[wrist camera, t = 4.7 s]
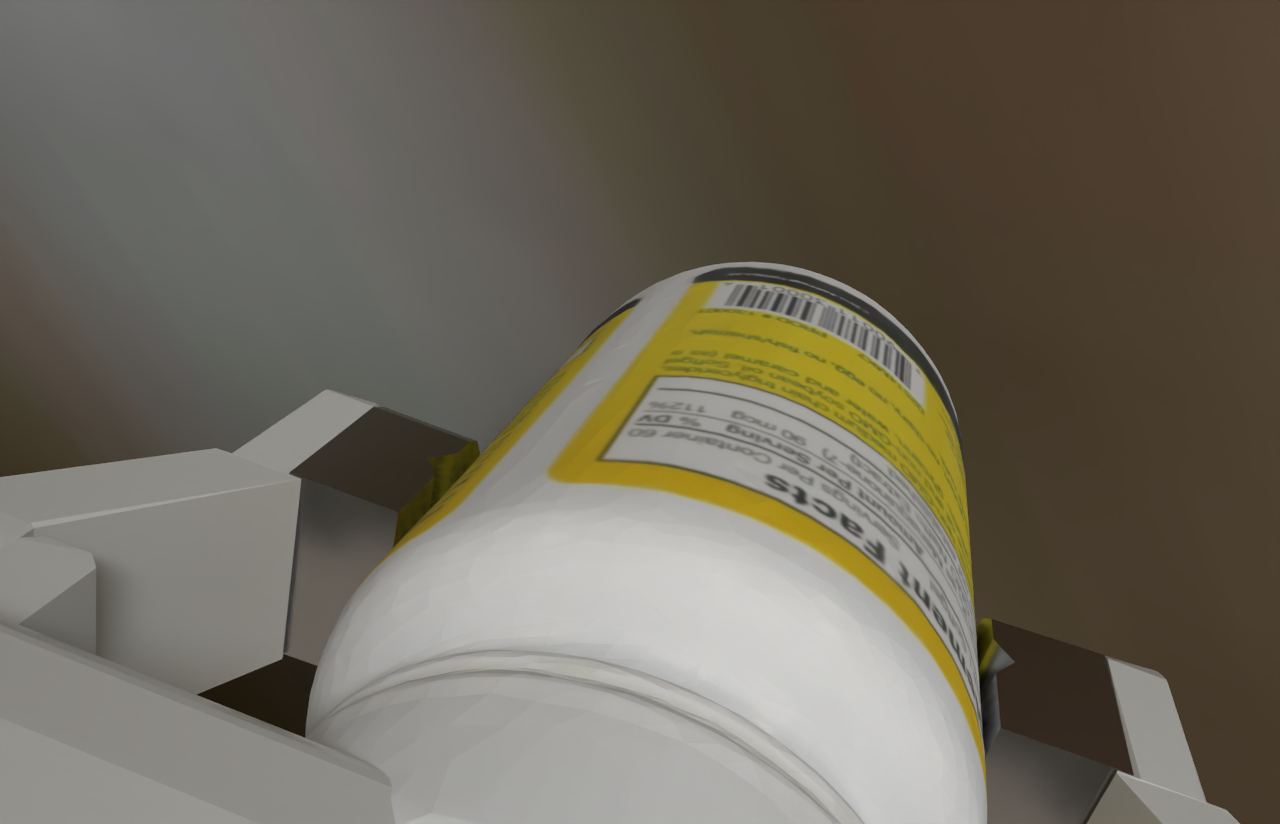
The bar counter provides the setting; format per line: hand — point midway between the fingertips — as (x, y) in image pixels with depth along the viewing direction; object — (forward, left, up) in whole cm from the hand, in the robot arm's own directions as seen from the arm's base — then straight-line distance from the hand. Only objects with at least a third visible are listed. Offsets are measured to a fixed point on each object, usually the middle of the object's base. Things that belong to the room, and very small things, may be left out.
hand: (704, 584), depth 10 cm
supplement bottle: (0, 0, -3) cm, 3 cm away
